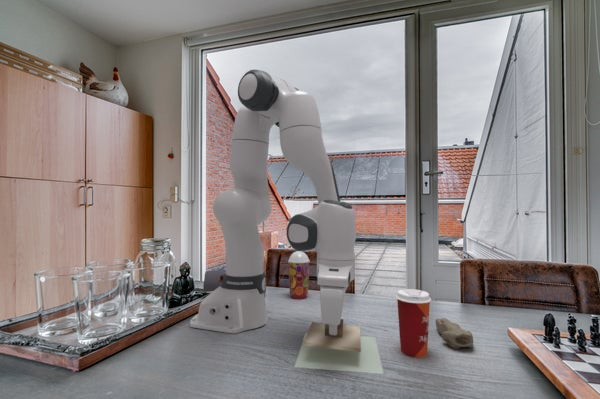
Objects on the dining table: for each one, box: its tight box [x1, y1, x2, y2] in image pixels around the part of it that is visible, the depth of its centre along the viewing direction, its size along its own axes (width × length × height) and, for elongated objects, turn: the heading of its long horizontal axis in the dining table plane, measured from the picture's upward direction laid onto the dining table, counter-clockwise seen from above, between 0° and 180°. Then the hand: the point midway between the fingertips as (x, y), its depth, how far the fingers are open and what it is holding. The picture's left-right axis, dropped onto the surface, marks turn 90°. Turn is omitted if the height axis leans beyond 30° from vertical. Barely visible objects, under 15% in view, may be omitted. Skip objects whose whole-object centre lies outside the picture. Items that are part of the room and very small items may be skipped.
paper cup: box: [395, 288, 432, 359], centre depth 72 cm, size 8×8×14 cm
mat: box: [294, 332, 384, 375], centre depth 72 cm, size 18×18×1 cm
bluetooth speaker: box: [202, 269, 267, 294], centre depth 120 cm, size 23×9×10 cm, turn 94°
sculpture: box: [435, 317, 474, 349], centre depth 80 cm, size 7×5×15 cm
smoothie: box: [287, 250, 311, 300], centre depth 118 cm, size 8×8×20 cm
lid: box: [304, 318, 361, 352], centre depth 72 cm, size 12×12×4 cm
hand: (334, 330), depth 72 cm, fingers closed on lid, 3 cm apart
